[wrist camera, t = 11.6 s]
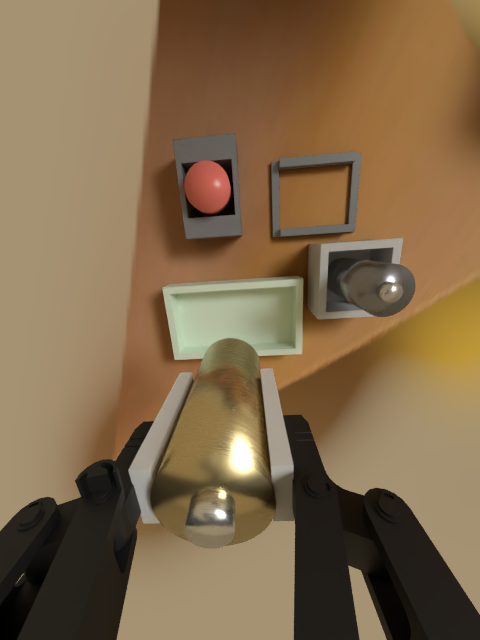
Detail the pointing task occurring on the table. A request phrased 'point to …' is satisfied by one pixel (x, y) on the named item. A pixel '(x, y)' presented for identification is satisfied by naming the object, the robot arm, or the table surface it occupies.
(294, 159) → the empty grey frame
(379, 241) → the bin
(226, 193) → the button
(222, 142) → the button housing
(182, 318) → the trough
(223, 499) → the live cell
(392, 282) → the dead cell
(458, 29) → the table surface
